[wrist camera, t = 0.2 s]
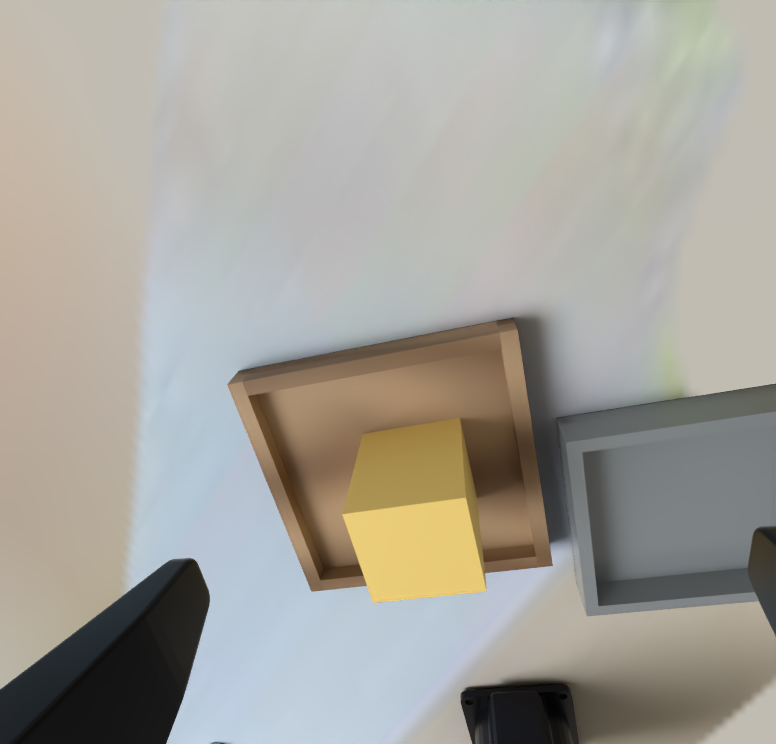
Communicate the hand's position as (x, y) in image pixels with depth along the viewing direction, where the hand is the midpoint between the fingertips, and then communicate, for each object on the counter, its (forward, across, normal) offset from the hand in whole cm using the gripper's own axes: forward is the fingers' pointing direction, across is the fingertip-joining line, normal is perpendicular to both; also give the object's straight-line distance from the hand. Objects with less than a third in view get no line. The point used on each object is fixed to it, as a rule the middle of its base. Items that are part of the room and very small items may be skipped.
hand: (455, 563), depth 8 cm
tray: (+14, +3, +8) cm, 16 cm away
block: (+14, +2, +7) cm, 16 cm away
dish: (+14, -10, +10) cm, 20 cm away
